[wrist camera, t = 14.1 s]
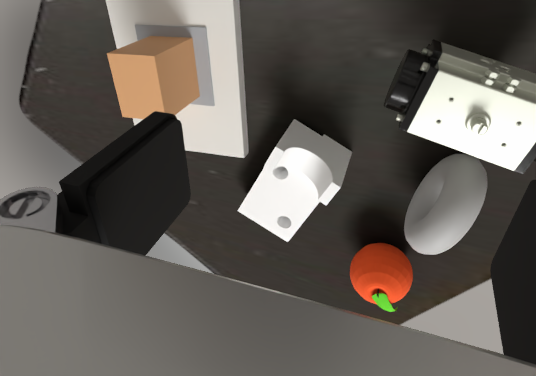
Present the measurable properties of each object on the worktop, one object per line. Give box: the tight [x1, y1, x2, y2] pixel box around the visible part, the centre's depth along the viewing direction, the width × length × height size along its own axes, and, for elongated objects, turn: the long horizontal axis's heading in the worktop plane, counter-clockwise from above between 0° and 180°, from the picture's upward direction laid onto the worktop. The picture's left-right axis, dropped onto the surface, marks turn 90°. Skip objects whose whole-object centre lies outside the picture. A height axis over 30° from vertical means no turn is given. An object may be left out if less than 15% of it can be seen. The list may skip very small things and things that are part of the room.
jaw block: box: [107, 36, 200, 119], centre depth 39 cm, size 6×5×7 cm
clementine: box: [350, 243, 413, 312], centre depth 45 cm, size 8×7×7 cm
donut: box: [404, 154, 487, 255], centre depth 37 cm, size 10×4×10 cm, turn 160°
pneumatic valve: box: [384, 40, 536, 174], centre depth 30 cm, size 6×12×12 cm, turn 76°
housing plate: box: [106, 0, 249, 158], centre depth 41 cm, size 20×14×5 cm
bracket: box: [238, 119, 352, 242], centre depth 43 cm, size 13×7×8 cm, turn 153°
